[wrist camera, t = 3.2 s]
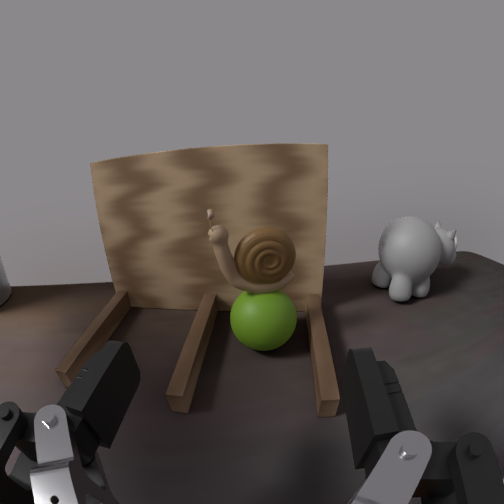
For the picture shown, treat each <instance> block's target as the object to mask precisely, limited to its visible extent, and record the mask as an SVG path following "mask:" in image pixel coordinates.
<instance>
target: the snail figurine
mask: <svg viewBox="0 0 504 504" xmlns="http://www.w3.org/2000/svg"><path fill="white" fill-rule="evenodd" d="M214 216H215V215H214V211H213V210H212V209H208V210H207V218H208V219H210V226H211V229H210V230H209V232H208V235H209V236H210V239H209V240H210V242H211V244H212V245H213V248H214V252H215V255H216V258H217V261H218V263H219V266H220V269H221V271H222V273H223V275H224V276H225V278H226V279H227V281H228V282H229V283H230V284H231V285H232V286H233V287H235V288H237V289H239V290H242V291H244V292H243V293H241V294H240V295H239V296H238V298H237V299H236V300H235V302H234V304H233V306H232V309H231V313H230V323H231V327H232V330H233V332H234V334H235V336H236V337H237V339H238V340H239V341H240V342H241V343H242V344H244V345H245V346H247V347H249V348H251V349H254V350H258V351H269V350H273V349H276V348H278V347H280V346H282V345H283V344H284V343H286V342H287V341H288V340H289V338H290V337H291V336H292V334H293V332H294V330H295V327H296V322H297V313H296V309H295V306H294V304H293V302H292V300H291V299H290V297H289V296H288V295H287V294H286V293H285V292H283V291H282V290H281V289H283V288H284V287H285V286H287V285H288V284H289V283H290V282H291V281H292V279H293V278H294V273H289V272H290V270H291V269H292V267H293V265H294V263H295V258H296V250H295V246H294V243H293V242H292V240H291V238H290V237H289V236H288V235H287V234H286V233H284V232H283V231H281V230H279V229H276V228H271V227H263V228H258V229H255V230H253V231H251V232H249V233H248V234H246V235H245V236H244V237H243V238H242V239H241V240H240V242H239V243H238V245H237V247H236V250H235V254H234V259H233V256H232V254H231V251H230V248H229V245H228V237H229V233H228V231H227V229H226V228H225V227H223V226H221V225H216V226H213V227H212V225H211V219H213V218H214Z"/></svg>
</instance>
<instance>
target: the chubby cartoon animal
mask: <svg viewBox="0 0 504 504" xmlns="http://www.w3.org/2000/svg"><path fill="white" fill-rule="evenodd" d="M455 234H456V229H453V230H451V231H450V232H448V231H447V230H445V229H442V228H441V226H440V221H437V223H436V225H435V227H433V226H432V225H431V224H430V223H428V222H427V221H426V220H424V219H422V218H420V217H416V216H403V217H400V218H398V219H396V220H394V221H392V222H391V223H390V224H389V225H388V226H387V227H386V228H385V230H384V231H383V233H382V235H381V238H380V241H379V258H380V261H379V263H378V264H377V265H376V267H375V269H374V271H373V274H372V283H373V284H374V285H376V286H378V287H381V288H388V287H389V296H390V298H391V299H392V300H395V301H400V302H403V301H407V300H409V299H410V297H411V295H412V296H415V297H425V296H426V295H427V294H428V292H429V289H430V275H431V274H432V273H433V272H434V271H435V269H436V268H437V266H438V264H442V265H450V264H452V263H453V262H454V260H455V258H456V248H457V243H458V241H457V237H456V238H455V240H454V237H455Z"/></svg>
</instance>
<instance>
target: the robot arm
mask: <svg viewBox="0 0 504 504" xmlns="http://www.w3.org/2000/svg"><path fill="white" fill-rule="evenodd" d="M11 292H12V290H11V287H10V285H9V282H8V279H7V276H6V273H5V270H4V267H3V264H2V260H1V257H0V305H2V304H3V303H4V302H5V301H6V300H7V299H8V298H9V296H10V295H11ZM139 382H140V371H139V368H138V366H137V363H136V361H135V358H134V356H133V353H132V350H131V347H130V345H129V344H128V343H127V342H120V341H112V340H109V341H108V342H107V343H106V344H105V345H104V347H103V348H102V350H101V351H97V352H96V353H95V354H93V355H92V356H91V357H90V358H88V359H87V361H86V362H85V364H84V365H83V367H82V370H80V371H79V373H78V374H77V377H75V378H74V380H73V381H72V383H71V384H70V386H69V387H68V389H67V391H66V392H65V394H64V395H63V397H62V398H61V400H60V401H59V403H58V404H57V405H47V406H45V407H43V408H41V409H40V410H39V411H38V412H37V413H27V412H22V411H21V410H20V408H19V407H18V406H17V404H15V403H14V402H5V403H3V404H1V405H0V504H119V503H118V501H117V500H116V499H115V497H114V496H113V494H112V492H111V490H110V487H109V485H108V482H107V479H106V476H105V473H104V470H103V467H102V464H101V461H100V457H99V454H98V452H97V451H96V450H97V448H98V446H102V447H105V448H109V449H110V447H111V444H112V442H113V440H114V438H115V435H116V433H117V431H118V429H119V426H120V424H121V422H122V420H123V418H124V415H125V413H126V411H127V409H128V407H129V405H130V403H131V400H132V398H133V396H134V394H135V392H136V390H137V388H138V385H139ZM398 382H399V381H398V379H397V376H396V374H395V371H394V369H393V368H392V367H391V366H390V365H389V364H388V363H387V362H386V361H377V362H376V359H375V356H374V353H373V351H372V349H371V348H359V349H350V350H349V352H348V356H347V361H346V365H345V370H344V374H343V379H342V395H343V400H344V405H345V411H346V416H347V422H348V428H349V433H350V439H351V446H352V452H353V459H354V465H355V469H360V468H365V473H366V477H365V479H364V480H363V482H362V483H361V485H360V486H359V488H358V489H357V490H356V492H355V493H354V495H353V496H352V497H351V499H350V500H349V502H348V503H347V504H408V503H409V501H410V499H411V497H421V502H422V504H504V484H503V480H502V476H501V473H500V470H499V466H498V463H497V460H496V457H495V454H494V451H493V448H492V446H491V443H490V441H489V440H488V439H487V437H485V436H484V435H482V434H480V433H468V434H466V435H464V436H463V437H462V438H461V439H460V440H459V441H458V442H433V441H430V440H429V439H428V438H427V437H426V436H425V435H423V434H422V433H420V432H418V431H417V430H416V428H415V425H414V422H413V420H412V417H411V414H410V411H409V408H408V405H407V403H406V400H405V397H404V394H403V393H402V389H401V386H400V384H399V383H398ZM15 446H16V447H17V448H18V449H19V450H20V451H21V453H20V455H19V457H18V459H17V461H16V463H15V465H14V468H13V470H12V472H11V474H10V475H9V476H7V474H6V472H5V465H6V463H7V461H8V459H9V457H10V455H11V453H12V451H13V449H14V447H15Z"/></svg>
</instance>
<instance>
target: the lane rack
mask: <svg viewBox="0 0 504 504" xmlns="http://www.w3.org/2000/svg"><path fill="white" fill-rule="evenodd" d="M90 167H91V175H92V182H93V188H94V196H95V202H96V208H97V213H98V219H99V224H100V229H101V234H102V238H103V243H104V248H105V252H106V256H107V260H108V265H109V269H110V272H111V276H112V280H113V284H114V288H115V291H116V294H115V295H114V296H113V298H112V299H111V300H110V301H109V302H108V304H107V305H106V306H105V307H104V308H103V310H102V311H101V312H100V313H99V314H98V316H97V317H96V318H95V319H94V321H93V322H92V323H91V324H90V326H89V327H88V328H87V329H86V331H85V332H84V333H83V334H82V336H81V337H80V338H79V339H78V341H77V342H76V343H75V345H74V346H73V347H72V349H71V350H70V351H69V352H68V354H67V355H66V356H65V358H64V359H63V360H62V362H61V363H60V365H59V366H58V367H57V369H56V370H55V371H56V372H57V374H58V376H59V377H60V379H61V381H62V382H63V384H64V386H65V387H67V388H68V387H69V386H70V384H71V383H72V381H73V380H74V378H75V377H77V374H78V373H79V371H80V370H82V367H83V365H84V364H85V362H86V361H87V359H88V358H90V357H91V356H92V355H93V354H95V353H96V352H97V351H101V350H102V348H103V347H104V345H105V344H106V342H107V341H108V339H109V338H110V337H111V335H112V334H113V332H114V331H115V329H116V328H117V326H118V325H119V324H120V322H121V321H122V319H123V318H124V316H125V315H126V314H127V312H128V311H129V309H130V308H131V307H145V308H163V309H184V310H198V311H197V313H196V316H195V318H194V321H193V323H192V326H191V328H190V331H189V333H188V336H187V338H186V341H185V344H184V346H183V349H182V351H181V354H180V357H179V359H178V362H177V364H176V367H175V370H174V372H173V375H172V378H171V380H170V383H169V386H168V388H167V391H166V394H165V395H166V397H167V400H168V402H169V405H170V407H171V410H172V411H174V412H181V413H189V409H190V405H191V402H192V398H193V395H194V391H195V388H196V384H197V381H198V377H199V374H200V370H201V367H202V363H203V360H204V357H205V353H206V350H207V346H208V343H209V339H210V336H211V333H212V329H213V326H214V322H215V319H216V316H217V312H218V311H231V309H232V306H233V304H234V302H235V300H236V299H237V298H238V296H239V295H240V294H241V293H243V292H244V291H242V290H239V289H237V288H235V287H233V286H232V285H231V284H230V283H229V282H228V281H227V279H226V278H225V276H224V275H223V273H222V271H221V269H220V266H219V263H218V261H217V258H216V255H215V252H214V248H213V245H212V244H211V242H210V240H209V239H210V236H209V235H208V232H209V230H210V229H211V226H210V219H208V218H207V210H208V209H212V210H213V211H214V215H215V216H214V218H213V219H211V225H212V227H213V226H216V225H221V226H223V227H225V228H226V229H227V231H228V233H229V237H228V245H229V248H230V251H231V254H232V256H233V259H234V254H235V250H236V247H237V245H238V243H239V242H240V240H241V239H242V238H243V237H244V236H245V235H246V234H248V233H249V232H251V231H253V230H255V229H258V228H263V227H271V228H276V229H279V230H281V231H283V232H284V233H286V234H287V235H288V236H289V237H290V238H291V240H292V242H293V243H294V246H295V250H296V258H295V263H294V265H293V267H292V269H291V270H290V272H289V273H294V278H293V279H292V281H291V282H290V283H289V284H288V285H287V286H285V287H284V288H283V289H281V290H282V291H283V292H285V293H286V294H287V295H288V296H289V297H290V299H291V300H292V302H293V304H294V306H295V309H296V311H305V316H306V323H307V330H308V338H309V345H310V353H311V361H312V370H313V378H314V387H315V396H316V406H317V416H318V417H332V416H335V415H336V412H337V408H338V405H339V401H340V396H339V391H338V385H337V380H336V375H335V370H334V365H333V360H332V355H331V350H330V345H329V341H328V336H327V331H326V327H325V322H324V318H323V313H322V309H321V298H322V287H323V274H324V260H325V259H324V258H325V244H326V222H327V193H328V145H327V144H303V143H298V144H297V143H295V144H294V143H291V144H290V143H289V144H287V143H286V144H246V145H228V146H227V145H226V146H212V147H200V148H189V149H179V150H170V151H161V152H153V153H146V154H139V155H132V156H126V157H120V158H114V159H108V160H103V161H98V162H93V163H90Z"/></svg>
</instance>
